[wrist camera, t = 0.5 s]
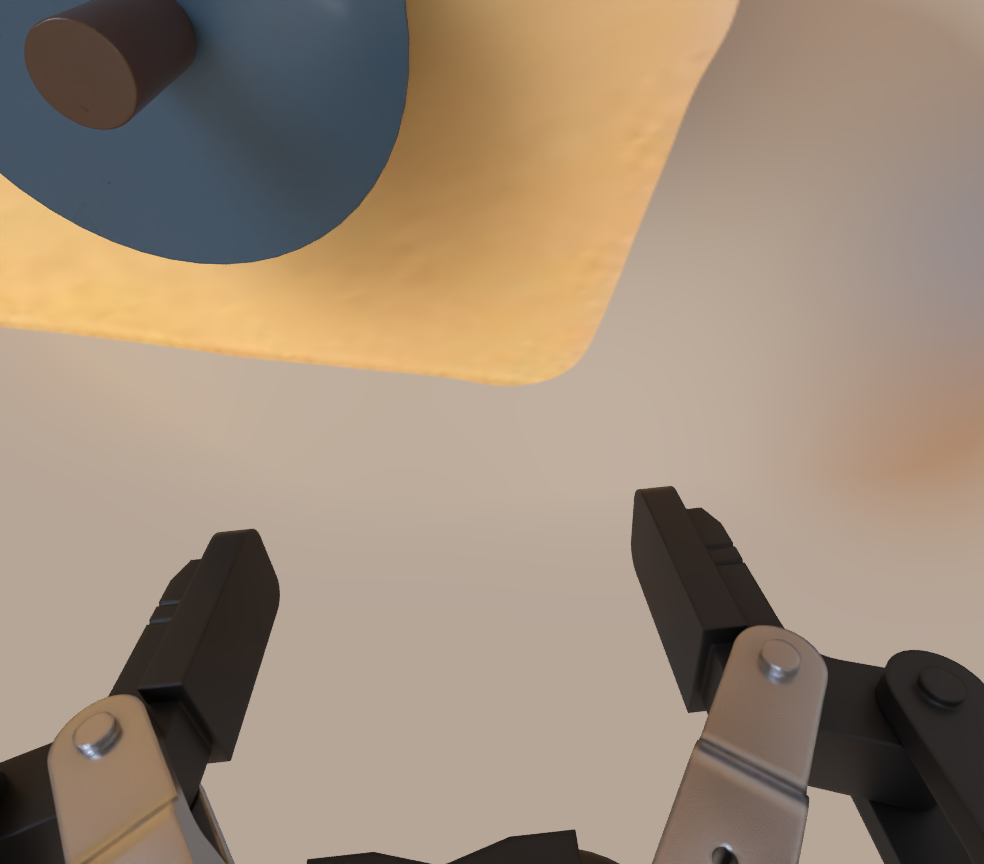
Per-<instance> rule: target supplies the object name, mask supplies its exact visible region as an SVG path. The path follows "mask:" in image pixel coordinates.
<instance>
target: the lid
mask: <svg viewBox="0 0 984 864" xmlns="http://www.w3.org/2000/svg"><path fill="white" fill-rule="evenodd" d="M408 78H409V30H408V21H407V11H406V2H405V0H0V173H1V174H2V175H3V176H4V177H6V178H7V179H8V180H9V181H11V182H12V183H13V184H14V185H16V186H17V187H18V188H19V189H21V190H22V191H24V192H25V193H27V194H28V195H30V196H31V197H32V198H34V199H35V200H37V201H38V202H40V203H41V204H43V205H44V206H46V207H47V208H49V209H50V210H52V211H53V212H55V213H57V214H59V215H61V216H62V217H64V218H66V219H68V220H69V221H71V222H73V223H75V224H76V225H78V226H80V227H82V228H84V229H86V230H88V231H90V232H93V233H95V234H97V235H99V236H101V237H104V238H106V239H108V240H110V241H112V242H115V243H118V244H121V245H124V246H126V247H129V248H132V249H135V250H138V251H141V252H144V253H148V254H152V255H156V256H160V257H164V258H168V259H172V260H179V261H186V262H193V263H202V264H236V263H248V262H255V261H260V260H265V259H270V258H274V257H278V256H281V255H284V254H287V253H289V252H292V251H295V250H298V249H300V248H302V247H304V246H306V245H308V244H310V243H312V242H314V241H316V240H318V239H320V238H321V237H323V236H324V235H326V234H327V233H328V232H330V231H331V230H333V229H334V228H335V227H337V226H338V225H340V224H341V223H342V222H343V221H344V220H345V219H346V218H347V217H348V216H349V215H350V214H351V213H352V212H353V211H354V210H355V209H356V208H357V207H358V206H359V205H360V204H361V203H362V201H363V200H364V199H365V197H366V196H367V195H368V193H369V192H370V191H371V189H372V188H373V187H374V185H375V184H376V182H377V180H378V178H379V176H380V175H381V173H382V171H383V169H384V168H385V166H386V164H387V162H388V159H389V157H390V154H391V152H392V149H393V147H394V144H395V142H396V139H397V137H398V133H399V129H400V125H401V121H402V117H403V113H404V109H405V103H406V95H407V86H408Z"/></svg>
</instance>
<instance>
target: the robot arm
mask: <svg viewBox="0 0 984 864" xmlns="http://www.w3.org/2000/svg"><path fill="white" fill-rule="evenodd" d="M631 551H632V558H633V564H634V568H635V571H636V574H637V577H638V579H639V582H640V584H641V587H642V590H643V593H644V596H645V598H646V601H647V604H648V606H649V609H650V612H651V614H652V617H653V619H654V622H655V625H656V628H657V631H658V633H659V636H660V638H661V641H662V644H663V647H664V649H665V652H666V655H667V657H668V660H669V663H670V665H671V668H672V670H673V674H674V676H675V679H676V682H677V684H678V687H679V690H680V692H681V695H682V698H683V700H684V703H685V706H686V709H687V711H688V713H691V712H700V711H707V714H708V717H707V720H706V723H705V726H704V729H703V731H702V734H701V737H700V739H699V740H697V742H696V744H695V746H694V749H693V751H692V753H691V756H690V759H689V762H688V764H687V767H686V770H685V773H684V776H683V778H682V781H681V784H680V787H679V789H678V792H677V795H676V798H675V801H674V803H673V806H672V809H671V812H670V814H669V817H668V820H667V823H666V826H665V828H664V831H663V834H662V837H661V840H660V842H659V845H658V848H657V851H656V854H655V857H654V859H653V862H652V864H798V863H799V857H800V853H801V847H802V842H803V836H804V830H805V825H806V820H807V814H808V807H809V797H808V796H807V795H806V792H807V786H812V787H816V788H820V789H825V790H829V791H833V792H837V793H842V794H846V795H850V796H851V797H852V799H853V801H854V803H855V805H856V807H857V809H858V811H859V813H860V815H861V817H862V820H863V822H864V823H865V826H866V828H867V830H868V832H869V834H870V836H871V838H872V840H873V842H874V844H875V846H876V848H877V850H878V852H879V854H880V856H881V858H882V860H883V862H884V864H984V683H983V682H981V680H980V679H979V678H978V677H976V676H975V675H974V674H973V673H972V672H970V671H969V670H968V669H966V668H965V667H963V666H962V665H960V664H958V663H957V662H955V661H952V660H951V659H948V658H946V657H944V656H941V655H938V654H935V653H931V652H928V651H921V650H908V651H902V652H900V653H897V654H895V655H894V656H892V657H891V658H890V659H889V661H888V663H887V665H886V667H885V668H882V667H877V666H871V665H866V664H860V663H854V662H849V661H843V660H838V659H834V658H830V657H827V656H824V655H821V654H819V652H818V651H817V650H816V649H815V647H814V646H812V645H811V644H810V643H809V642H808V641H807V640H805V639H804V638H803V637H801V636H799V635H798V634H796V633H794V632H792V631H790V630H787V629H785V628H784V627H783V625H782V624H781V623H780V621H779V619H778V618H777V616H776V614H775V613H774V611H773V609H772V608H771V606H770V604H769V603H768V601H767V599H766V598H765V596H764V594H763V593H762V591H761V589H760V588H759V586H758V584H757V582H756V581H755V579H754V577H753V576H752V574H751V572H750V571H749V569H748V567H747V566H746V564H745V563H743V561H742V557H741V556H740V554H739V552H738V551H737V549H736V548H735V547H733V542H732V541H731V539H730V537H729V536H728V534H727V532H726V531H725V529H724V527H723V526H722V524H721V523H720V522H719V521H718V520H716V519H715V518H714V517H712V516H711V515H710V514H709V513H707V512H706V511H705V510H704V509H702V508H693V509H686V508H685V506H684V504H683V503H682V501H681V499H680V497H679V495H678V493H677V491H676V490H675V488H674V487H672V486H668V487H657V488H648V489H639V490H637V491H636V492H635V496H634V509H633V523H632V536H631ZM279 599H280V590H279V583H278V579H277V576H276V574H275V571H274V569H273V566H272V564H271V561H270V559H269V557H268V554H267V552H266V549H265V547H264V545H263V542H262V539H261V537H260V535H259V533H258V532H257V531H256V530H255V529H247V530H237V531H227V532H219V533H216V534H215V535H214V536H213V537H212V539H211V540H210V542H209V544H208V546H207V548H206V550H205V552H204V554H203V557H202V559H199V560H191V561H190V562H189V563H188V564H187V565H186V566H185V567H184V568H183V569H182V570H181V571H180V572H179V573H178V574H177V575H176V576H175V577H174V578H173V579H172V580H171V581H170V583H169V585H168V586H167V588H166V590H165V592H164V594H163V596H162V598H161V600H160V601H159V607H156V609H155V611H154V613H153V615H152V616H151V618H150V620H149V621H150V624H149V625H147V626H146V628H145V629H144V631H143V633H142V635H141V637H140V639H139V640H138V642H137V644H136V646H135V648H134V650H133V652H132V654H131V655H130V657H129V659H128V661H127V663H126V665H125V667H124V668H123V671H122V672H121V674H120V676H119V678H118V680H117V681H116V683H115V685H114V687H113V689H112V691H111V693H110V694H109V696H108V697H107V698H104V699H101V700H99V701H97V702H95V703H93V704H91V705H89V706H88V707H86V708H85V709H83V710H82V711H80V712H79V713H78V714H77V715H75V716H74V717H73V718H72V719H71V720H70V721H69V722H68V723H67V724H66V725H65V726H64V727H63V728H62V730H61V731H60V732H59V734H58V735H57V736H56V738H55V740H54V741H53V742H52V743H50V744H48V745H45V746H42V747H40V748H37V749H34V750H32V751H29V752H27V753H24V754H22V755H19V756H16V757H14V758H11V759H9V760H6V761H4V762H1V763H0V864H234V861H233V858H232V856H231V853H230V851H229V849H228V846H227V844H226V841H225V839H224V836H223V834H222V831H221V829H220V827H219V824H218V822H217V819H216V817H215V814H214V812H213V810H212V807H211V805H210V802H209V800H208V797H207V795H206V792H205V790H204V788H203V786H202V785H201V783H200V782H201V779H202V777H203V774H204V771H205V768H206V765H207V763H216V762H225V761H230V760H231V758H232V755H233V752H234V748H235V745H236V742H237V739H238V736H239V732H240V729H241V726H242V723H243V720H244V716H245V713H246V710H247V707H248V704H249V700H250V697H251V694H252V691H253V687H254V684H255V681H256V678H257V675H258V671H259V668H260V665H261V662H262V659H263V655H264V652H265V649H266V646H267V643H268V639H269V636H270V633H271V630H272V626H273V623H274V620H275V616H276V613H277V610H278V607H279ZM307 864H429V863H424V862H420V861H415V860H409V859H405V858H400V857H395V856H390V855H386V854H381V853H376V852H370V853H360V854H351V855H342V856H334V857H324V858H316V859H308V860H307ZM447 864H619V863H617V862H615V861H613V860H611V859H609V858H607V857H604V856H601V855H598V854H595V853H593V852H589V851H584V850H579V849H578V843H577V837H576V831H575V830H567V831H558V832H549V833H540V834H530V835H522V836H513V837H508V838H506V839H504V840H501V841H499V842H496V843H494V844H492V845H489V846H487V847H485V848H482V849H480V850H478V851H476V852H473V853H471V854H469V855H466V856H464V857H461V858H459V859H457V860H454V861H452V862H450V863H447Z"/></svg>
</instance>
